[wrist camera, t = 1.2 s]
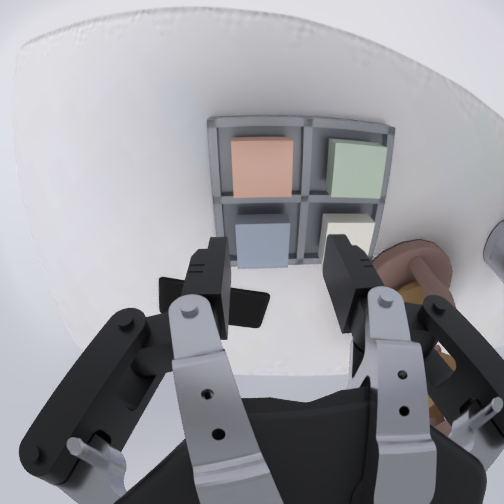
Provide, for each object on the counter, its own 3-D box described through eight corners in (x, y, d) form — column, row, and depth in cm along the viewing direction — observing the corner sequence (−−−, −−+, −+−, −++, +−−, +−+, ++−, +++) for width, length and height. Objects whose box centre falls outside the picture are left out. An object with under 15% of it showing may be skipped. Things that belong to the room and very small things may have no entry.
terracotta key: (289, 136, 22) (293, 140, 21) (288, 188, 25) (291, 196, 23) (232, 137, 22) (230, 141, 20) (234, 189, 25) (233, 198, 23)
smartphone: (158, 277, 34) (271, 295, 36) (159, 273, 35) (271, 291, 36) (159, 314, 37) (260, 329, 39) (160, 310, 38) (259, 325, 40)
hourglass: (366, 235, 31) (466, 428, 11) (460, 241, 32) (554, 367, 11) (336, 331, 41) (371, 480, 20) (420, 322, 42) (470, 439, 21)
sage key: (377, 142, 22) (387, 147, 21) (371, 190, 25) (379, 198, 23) (329, 138, 22) (335, 142, 21) (325, 189, 25) (330, 197, 23)
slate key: (287, 213, 26) (290, 223, 25) (285, 256, 29) (287, 267, 28) (235, 214, 26) (235, 224, 25) (238, 257, 29) (237, 268, 27)
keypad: (385, 124, 24) (395, 127, 22) (365, 251, 33) (371, 261, 31) (210, 117, 24) (206, 119, 22) (221, 255, 33) (219, 266, 31)
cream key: (367, 213, 26) (375, 222, 25) (359, 253, 29) (365, 264, 28) (322, 213, 26) (328, 222, 25) (317, 255, 29) (321, 266, 28)
